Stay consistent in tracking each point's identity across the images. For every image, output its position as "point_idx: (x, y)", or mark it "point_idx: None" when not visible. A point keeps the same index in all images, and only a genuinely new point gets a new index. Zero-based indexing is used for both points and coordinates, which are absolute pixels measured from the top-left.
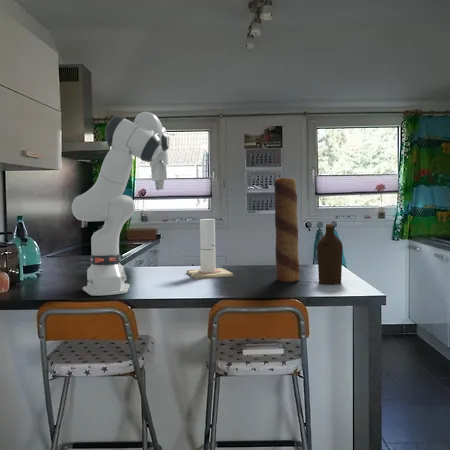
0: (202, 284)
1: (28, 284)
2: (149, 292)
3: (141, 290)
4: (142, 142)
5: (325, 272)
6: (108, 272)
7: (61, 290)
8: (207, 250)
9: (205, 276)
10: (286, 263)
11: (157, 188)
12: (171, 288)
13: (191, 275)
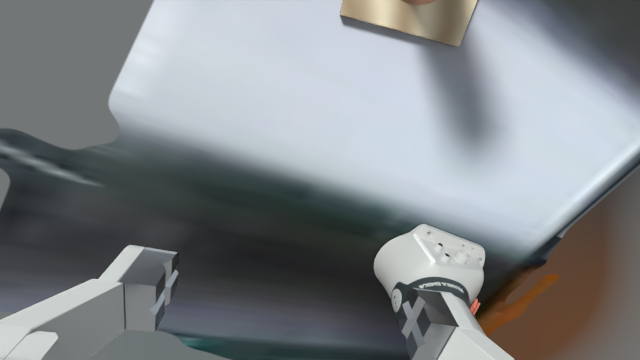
0: (533, 71)
1: (272, 354)
2: (510, 210)
3: (480, 216)
4: None
5: None
6: (474, 297)
7: (371, 321)
8: None
9: (470, 12)
10: None
11: (169, 291)
12: (512, 159)
13: (404, 32)
